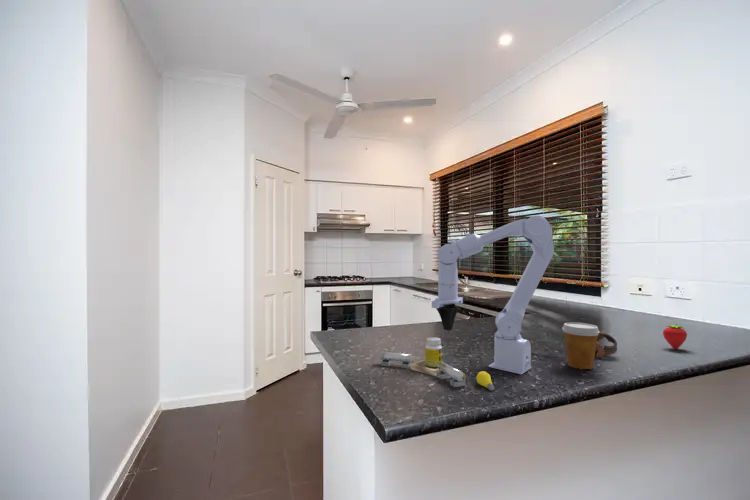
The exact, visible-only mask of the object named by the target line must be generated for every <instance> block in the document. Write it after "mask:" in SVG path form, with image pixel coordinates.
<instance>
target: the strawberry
mask: <svg viewBox="0 0 750 500" xmlns="http://www.w3.org/2000/svg"><path fill="white" fill-rule="evenodd" d="M672 321H674V323H675V325H673V324H668V325H666V326H665V328H664V329H663V331H662V335H663V338H664V339H665V341H666V342H667V343H668V345H670V346H671V348H672V349H673V350H678V349H679V348H680V347H681V346H682V345H683V344H684V343H685V342H686V339H687V336H688V334H687V333H688V332H687V330H685V327H684V326H682V325H677V324H678V323H677V322H676V321H675V320H672Z"/></svg>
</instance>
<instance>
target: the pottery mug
mask: <svg viewBox="0 0 750 500" xmlns="http://www.w3.org/2000/svg"><path fill="white" fill-rule="evenodd" d="M604 338H605V339H606V340H607V342H609V343H612V344H613V345H601V343H600V342H599V340H603V339H604ZM596 351H597V352H596ZM617 351H618V342H617V340H616V339H615V338H614V337H613V336H611V335H610V334H608V333H605V332H601V331H600V333H599V335H598V336H597V343H596V350H595V352H596V353H595V356H596V357H597V358H599V359H602V358H604V356H605V357H607V356H611V355H614V354H616V352H617Z"/></svg>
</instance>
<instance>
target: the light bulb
mask: <svg viewBox="0 0 750 500" xmlns="http://www.w3.org/2000/svg"><path fill="white" fill-rule="evenodd" d="M475 378H476V382H477V384H478V385H480V386H481V387H485V388H486V389H487V390H489V391H491V392H493V391H494V390H495V386H494V385H493V382H492V379H491V375H490V374H489V373H488V372H487V371H483V370H482V371H479V372H478V373H477V375H476V377H475Z"/></svg>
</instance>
